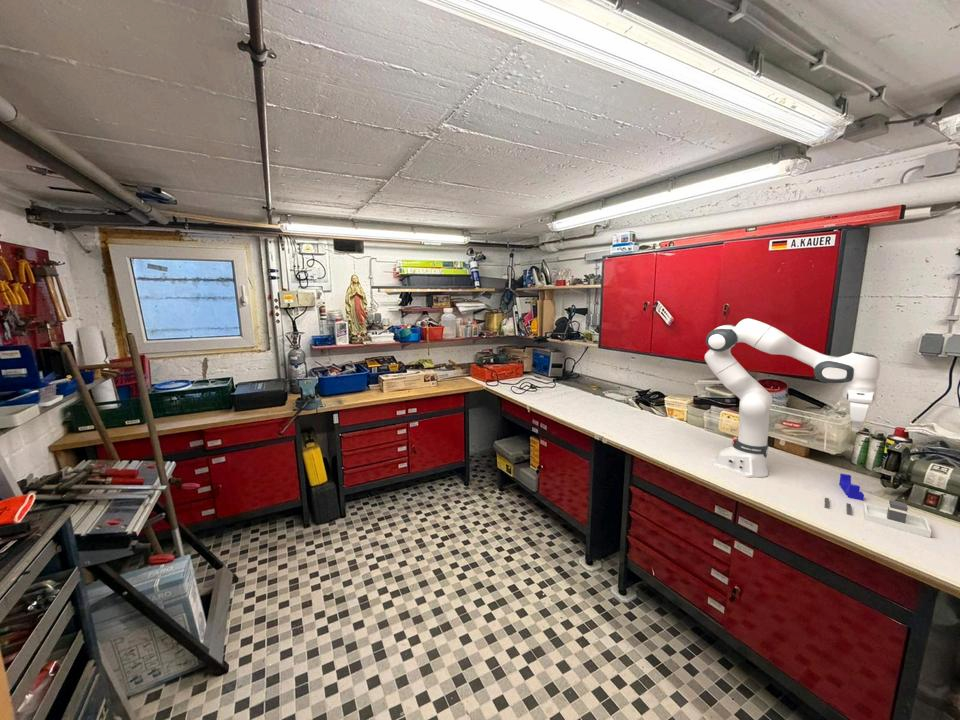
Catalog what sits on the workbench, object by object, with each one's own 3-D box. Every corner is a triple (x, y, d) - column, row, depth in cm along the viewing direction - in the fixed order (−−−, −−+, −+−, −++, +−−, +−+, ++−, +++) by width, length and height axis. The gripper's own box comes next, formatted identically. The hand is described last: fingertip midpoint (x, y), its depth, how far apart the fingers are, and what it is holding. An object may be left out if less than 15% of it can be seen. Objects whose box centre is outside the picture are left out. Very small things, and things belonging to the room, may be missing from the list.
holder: (824, 509, 142) (824, 505, 142) (824, 500, 148) (825, 497, 148) (851, 516, 137) (851, 512, 137) (850, 507, 143) (850, 504, 143)
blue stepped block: (863, 501, 147) (865, 488, 146) (847, 498, 149) (849, 485, 148) (853, 488, 157) (854, 475, 156) (838, 486, 159) (840, 473, 159)
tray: (864, 520, 135) (865, 513, 134) (863, 508, 142) (863, 502, 141) (930, 537, 124) (931, 531, 124) (924, 524, 131) (926, 518, 131)
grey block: (887, 521, 133) (890, 504, 132) (886, 516, 136) (888, 499, 135) (905, 526, 130) (908, 508, 129) (903, 521, 133) (906, 503, 132)
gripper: (847, 387, 150) (842, 419, 152) (848, 397, 136) (843, 433, 138) (869, 390, 146) (864, 423, 148) (873, 400, 131) (867, 437, 133)
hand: (854, 428), depth 143 cm, fingers open, 8 cm apart
